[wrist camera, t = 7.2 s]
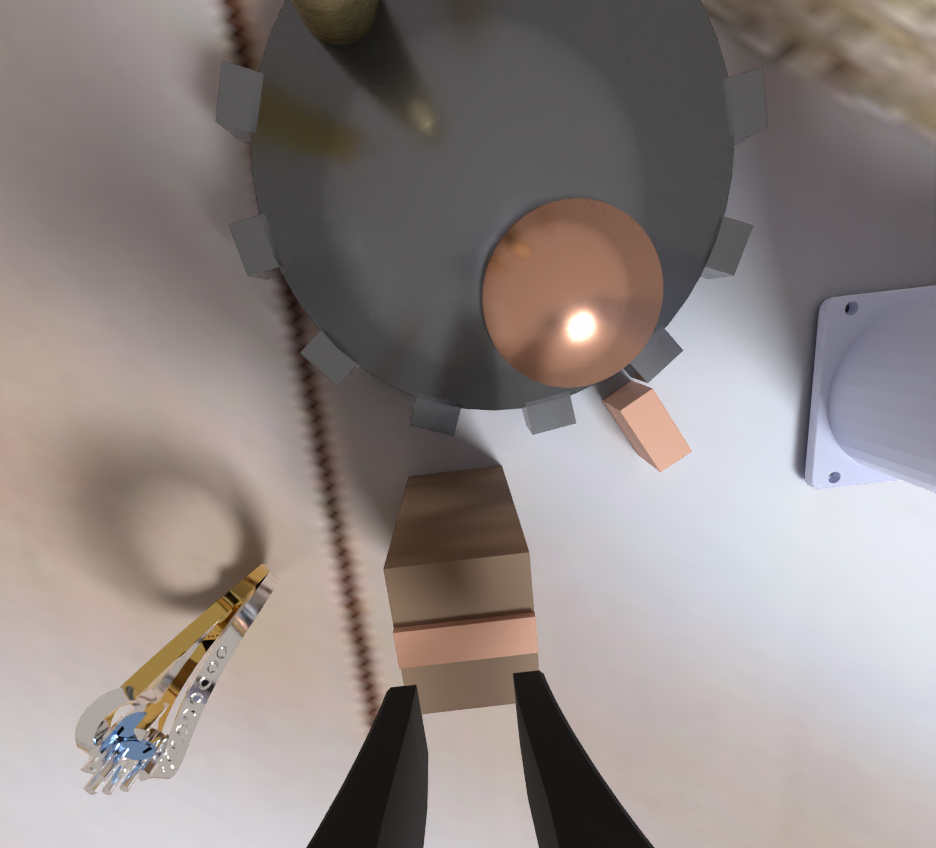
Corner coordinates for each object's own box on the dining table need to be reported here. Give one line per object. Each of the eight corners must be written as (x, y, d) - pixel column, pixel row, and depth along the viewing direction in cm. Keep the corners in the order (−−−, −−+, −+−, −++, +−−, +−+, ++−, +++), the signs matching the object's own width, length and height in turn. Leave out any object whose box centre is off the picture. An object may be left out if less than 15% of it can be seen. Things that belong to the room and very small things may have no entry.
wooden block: (501, 465, 19) (530, 556, 12) (511, 568, 20) (542, 706, 13) (408, 476, 19) (382, 573, 12) (424, 578, 20) (408, 721, 13)
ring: (225, 657, 21) (87, 865, 13) (169, 616, 20) (-12, 807, 12) (325, 563, 20) (240, 727, 12) (269, 517, 19) (140, 657, 11)
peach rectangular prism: (602, 400, 18) (619, 410, 16) (631, 380, 18) (652, 388, 16) (639, 455, 19) (660, 471, 17) (667, 436, 19) (692, 451, 17)
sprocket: (496, -287, 12) (523, -680, 7) (831, 190, 16) (1003, 134, 11) (136, 187, 15) (-18, 125, 10) (489, 509, 18) (502, 581, 13)
